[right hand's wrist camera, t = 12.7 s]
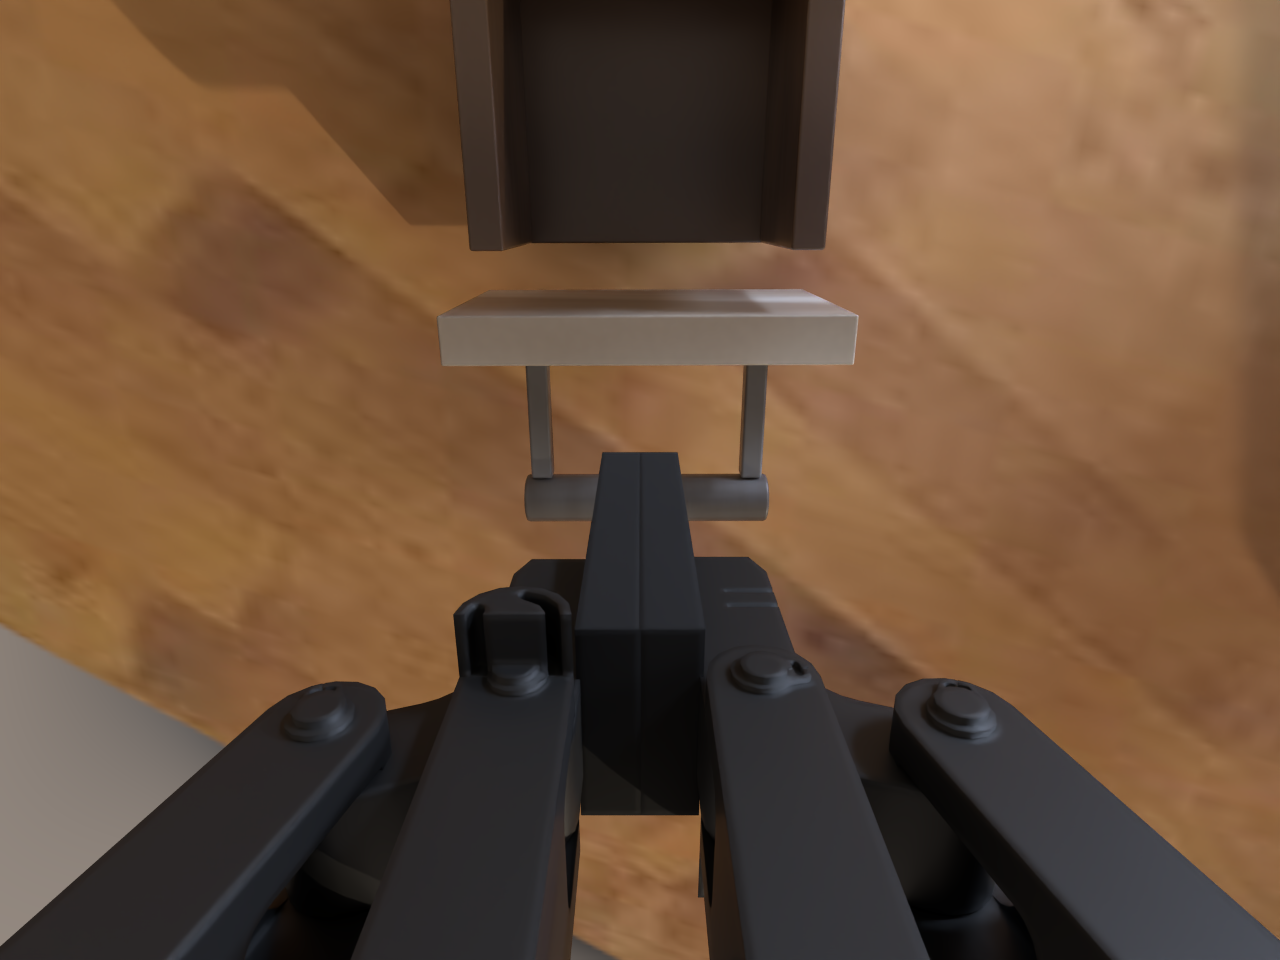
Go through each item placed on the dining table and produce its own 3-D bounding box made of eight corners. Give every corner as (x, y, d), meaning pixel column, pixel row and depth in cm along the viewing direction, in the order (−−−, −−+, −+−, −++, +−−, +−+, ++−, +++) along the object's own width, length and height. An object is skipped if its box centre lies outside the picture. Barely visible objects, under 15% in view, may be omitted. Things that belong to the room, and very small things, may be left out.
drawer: (789, 478, 25) (834, 558, 19) (502, 479, 25) (460, 559, 19) (864, -548, 16) (988, -966, 11) (427, -545, 17) (309, -964, 11)
